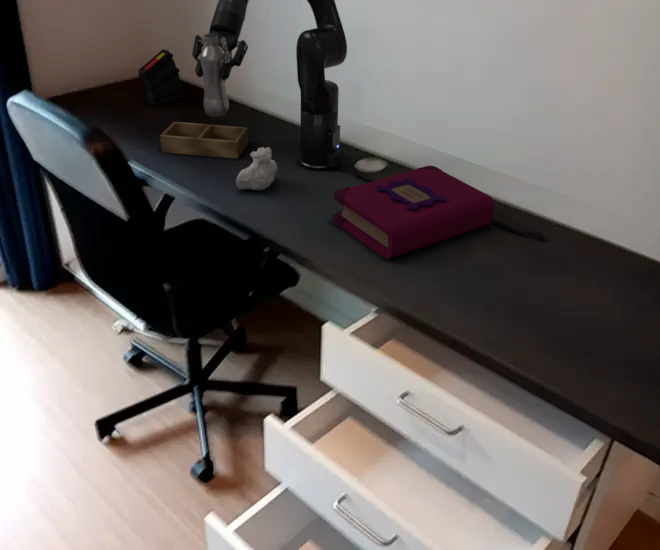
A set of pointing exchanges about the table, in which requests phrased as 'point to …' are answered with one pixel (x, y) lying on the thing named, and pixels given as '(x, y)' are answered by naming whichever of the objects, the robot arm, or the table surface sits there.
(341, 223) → the book
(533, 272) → the table surface
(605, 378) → the table surface
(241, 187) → the bust
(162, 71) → the magazine
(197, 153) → the brown open rectangular box
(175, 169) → the table surface
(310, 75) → the robot arm
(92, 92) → the table surface
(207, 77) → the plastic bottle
